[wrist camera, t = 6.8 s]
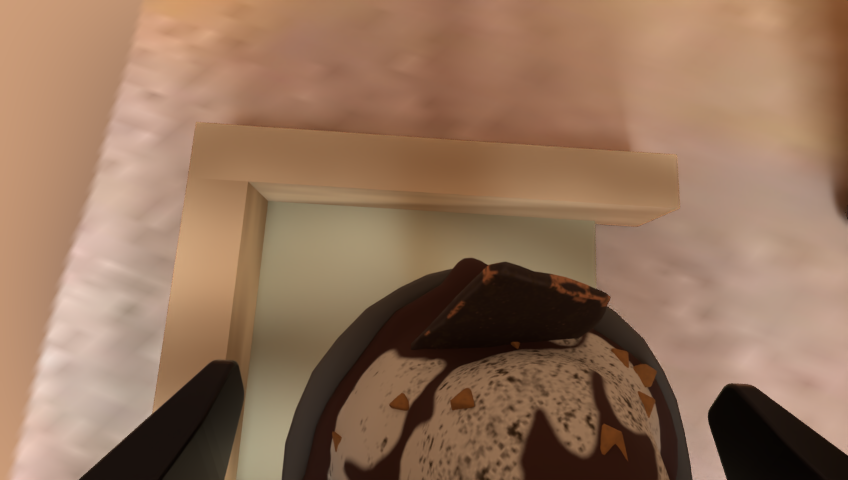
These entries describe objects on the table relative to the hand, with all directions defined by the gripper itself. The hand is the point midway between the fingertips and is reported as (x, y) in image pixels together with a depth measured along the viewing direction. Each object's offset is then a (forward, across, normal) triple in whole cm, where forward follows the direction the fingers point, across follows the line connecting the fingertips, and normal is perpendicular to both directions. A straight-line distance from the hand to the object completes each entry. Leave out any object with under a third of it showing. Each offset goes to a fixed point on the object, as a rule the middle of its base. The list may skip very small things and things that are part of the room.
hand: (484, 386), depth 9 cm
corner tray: (+7, +1, +7) cm, 10 cm away
